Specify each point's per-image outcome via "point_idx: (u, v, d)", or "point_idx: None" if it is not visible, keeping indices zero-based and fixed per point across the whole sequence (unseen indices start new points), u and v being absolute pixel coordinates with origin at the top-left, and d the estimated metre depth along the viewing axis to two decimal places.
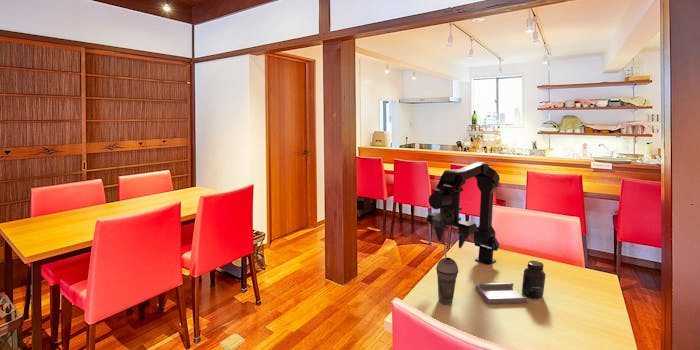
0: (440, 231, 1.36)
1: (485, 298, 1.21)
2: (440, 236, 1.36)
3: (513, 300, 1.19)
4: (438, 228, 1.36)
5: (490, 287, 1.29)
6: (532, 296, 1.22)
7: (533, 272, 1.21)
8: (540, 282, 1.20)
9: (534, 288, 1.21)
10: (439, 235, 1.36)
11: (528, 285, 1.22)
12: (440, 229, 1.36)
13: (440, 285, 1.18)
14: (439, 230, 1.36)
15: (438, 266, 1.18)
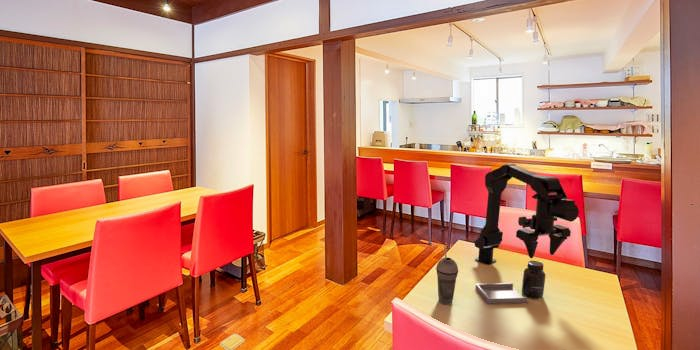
0: (553, 245, 1.25)
1: (485, 298, 1.21)
2: (552, 250, 1.25)
3: (513, 300, 1.19)
4: (551, 240, 1.26)
5: (490, 287, 1.29)
6: (532, 296, 1.22)
7: (533, 272, 1.21)
8: (540, 282, 1.20)
9: (534, 288, 1.21)
10: (551, 248, 1.26)
11: (528, 285, 1.22)
12: (554, 243, 1.25)
13: (440, 285, 1.18)
14: (552, 243, 1.25)
15: (438, 266, 1.18)
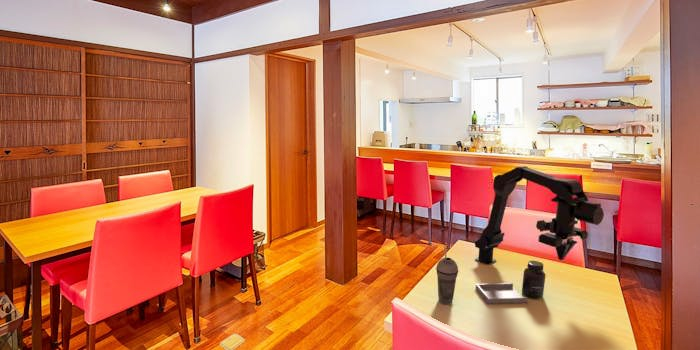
0: None
1: (485, 298, 1.21)
2: None
3: (513, 300, 1.19)
4: None
5: (490, 287, 1.29)
6: (532, 296, 1.22)
7: (533, 272, 1.21)
8: (540, 282, 1.20)
9: (534, 288, 1.21)
10: None
11: (528, 285, 1.22)
12: None
13: (440, 285, 1.18)
14: None
15: (438, 266, 1.18)
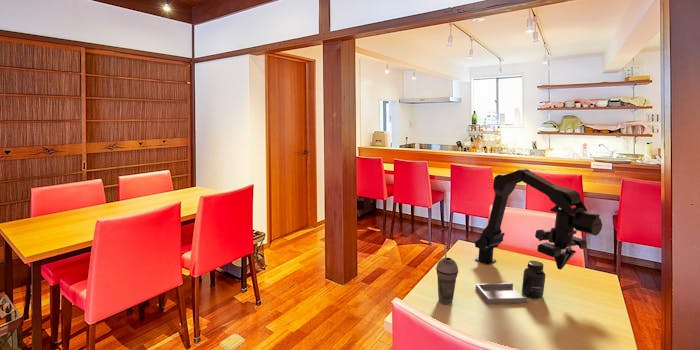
0: None
1: (485, 298, 1.21)
2: None
3: (513, 300, 1.19)
4: None
5: (490, 287, 1.29)
6: (532, 296, 1.22)
7: (533, 272, 1.21)
8: (540, 282, 1.20)
9: (534, 288, 1.21)
10: None
11: (528, 285, 1.22)
12: None
13: (440, 285, 1.18)
14: None
15: (438, 266, 1.18)
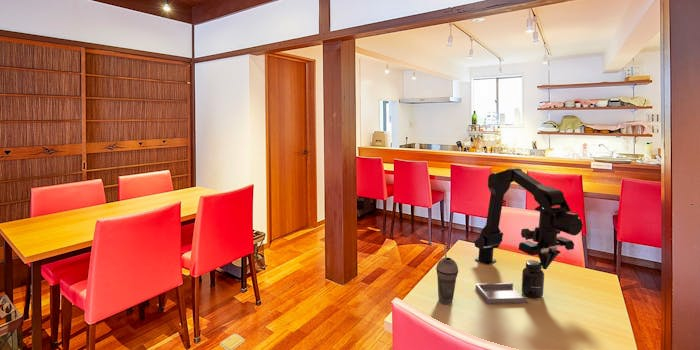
0: None
1: (485, 298, 1.21)
2: None
3: (513, 300, 1.19)
4: None
5: (490, 287, 1.29)
6: (532, 296, 1.22)
7: (531, 272, 1.21)
8: (539, 281, 1.20)
9: (534, 288, 1.21)
10: None
11: (527, 285, 1.22)
12: None
13: (440, 285, 1.18)
14: None
15: (438, 266, 1.18)
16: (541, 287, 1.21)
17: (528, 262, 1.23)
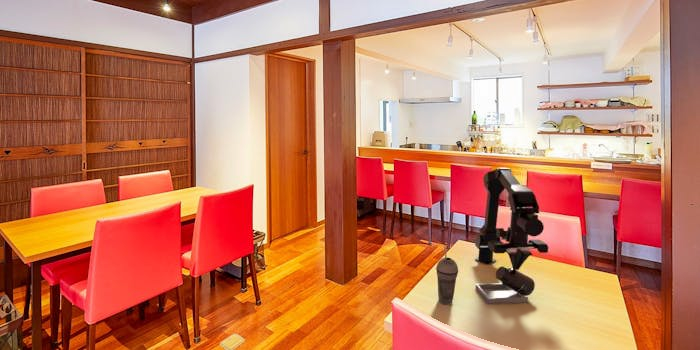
0: (518, 260, 1.22)
1: (485, 298, 1.21)
2: None
3: (513, 300, 1.19)
4: None
5: (490, 287, 1.29)
6: (526, 294, 1.22)
7: (505, 282, 1.22)
8: (517, 284, 1.20)
9: (520, 290, 1.21)
10: None
11: (515, 291, 1.22)
12: (519, 258, 1.21)
13: (440, 285, 1.18)
14: (518, 258, 1.22)
15: (438, 266, 1.18)
16: (524, 284, 1.20)
17: (496, 275, 1.24)
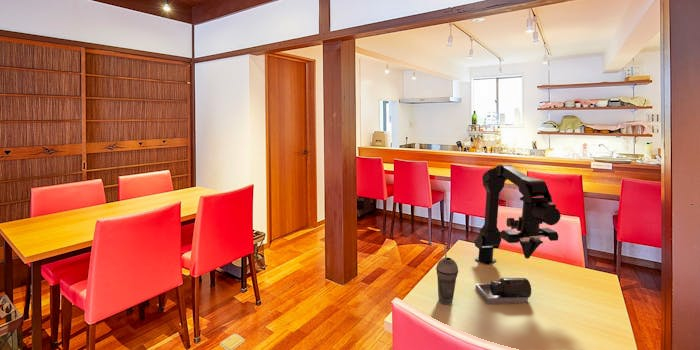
0: None
1: (485, 298, 1.21)
2: None
3: (513, 300, 1.19)
4: None
5: None
6: None
7: (500, 295, 1.22)
8: (511, 296, 1.19)
9: None
10: None
11: None
12: None
13: (440, 285, 1.18)
14: None
15: (438, 266, 1.18)
16: (519, 294, 1.19)
17: (490, 289, 1.23)
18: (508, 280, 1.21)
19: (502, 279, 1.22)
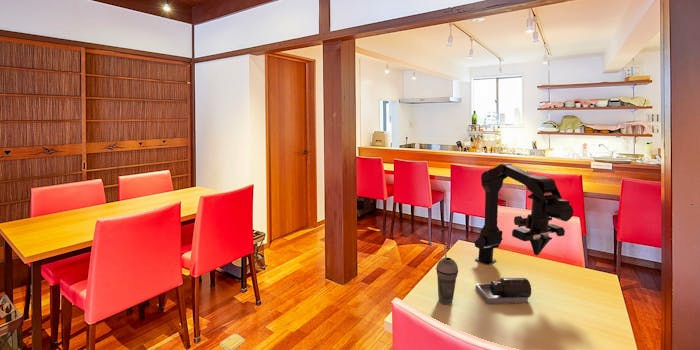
0: None
1: (485, 298, 1.21)
2: None
3: (513, 300, 1.19)
4: None
5: None
6: None
7: (500, 295, 1.22)
8: (511, 296, 1.19)
9: None
10: None
11: None
12: None
13: (440, 285, 1.18)
14: None
15: (438, 266, 1.18)
16: (519, 294, 1.19)
17: (490, 289, 1.23)
18: (508, 280, 1.21)
19: (502, 279, 1.22)
